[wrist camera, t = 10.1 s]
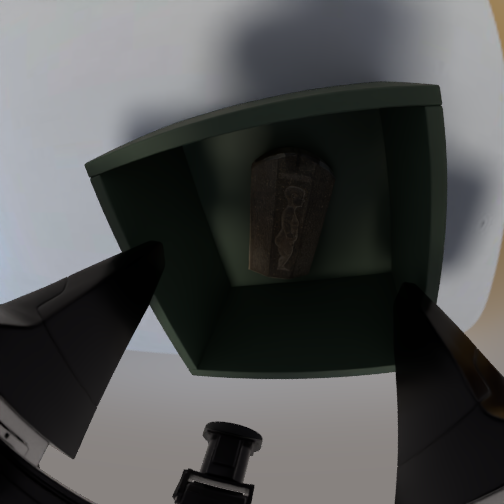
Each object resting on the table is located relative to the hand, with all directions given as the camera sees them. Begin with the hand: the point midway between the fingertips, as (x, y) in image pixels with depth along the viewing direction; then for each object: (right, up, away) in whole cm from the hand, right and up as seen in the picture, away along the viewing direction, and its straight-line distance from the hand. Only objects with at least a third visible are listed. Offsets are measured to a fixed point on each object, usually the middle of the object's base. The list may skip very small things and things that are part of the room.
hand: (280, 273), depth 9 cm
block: (+1, +3, +5) cm, 6 cm away
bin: (+1, +3, +5) cm, 6 cm away
